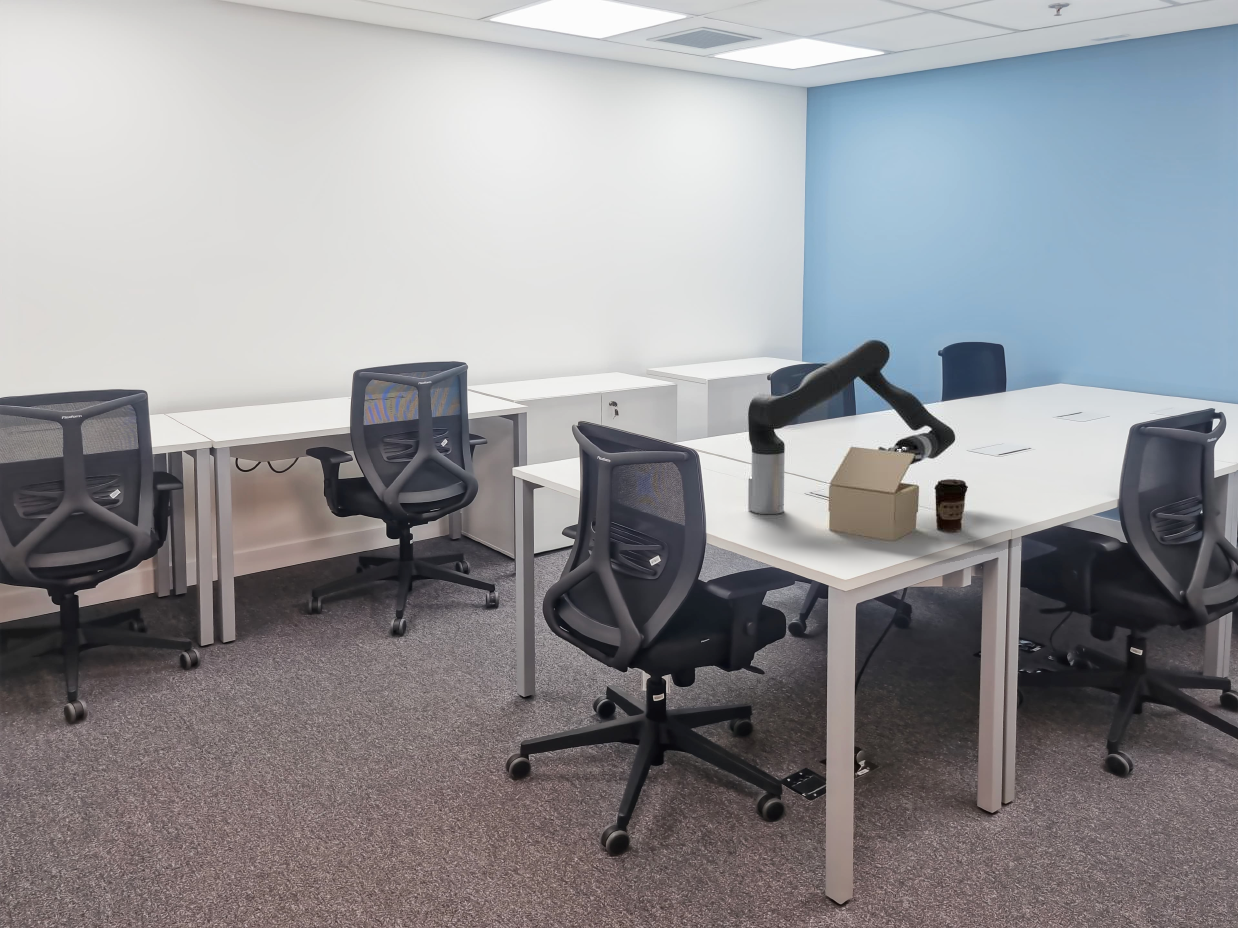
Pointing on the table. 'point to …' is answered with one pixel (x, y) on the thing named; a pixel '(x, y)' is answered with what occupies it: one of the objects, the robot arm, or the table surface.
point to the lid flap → (872, 469)
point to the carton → (874, 511)
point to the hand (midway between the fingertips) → (885, 459)
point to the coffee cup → (950, 504)
